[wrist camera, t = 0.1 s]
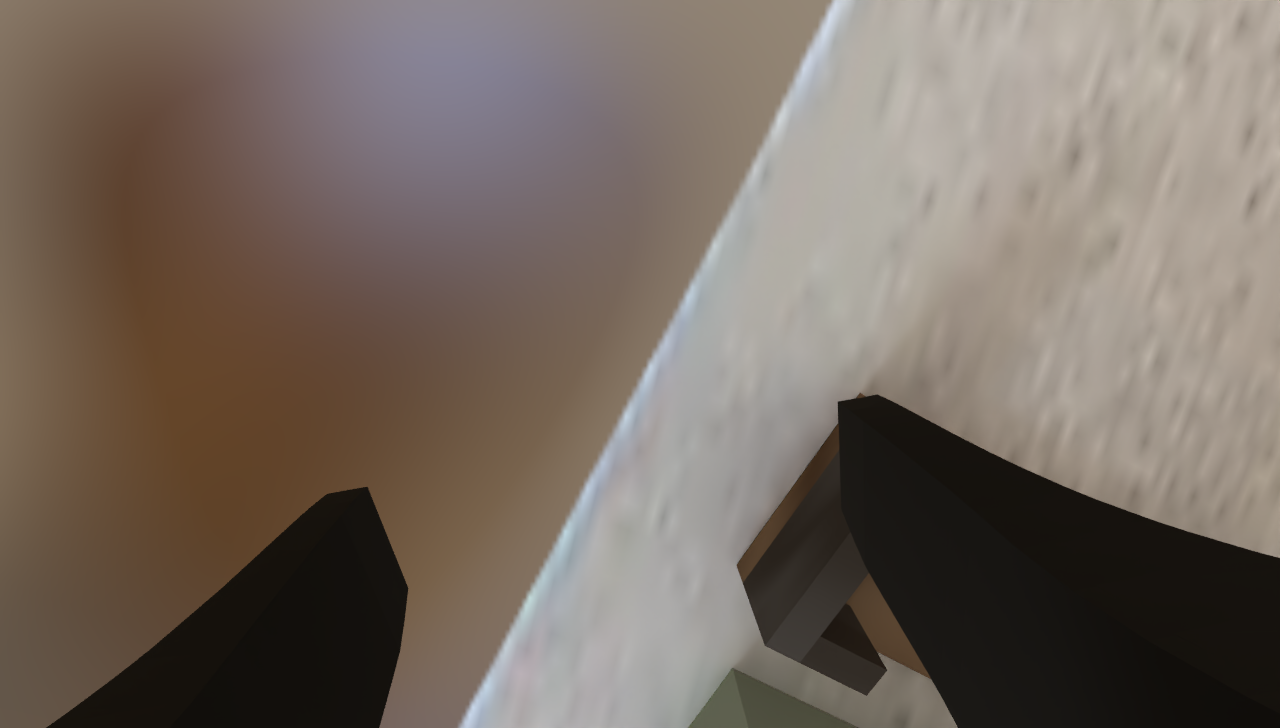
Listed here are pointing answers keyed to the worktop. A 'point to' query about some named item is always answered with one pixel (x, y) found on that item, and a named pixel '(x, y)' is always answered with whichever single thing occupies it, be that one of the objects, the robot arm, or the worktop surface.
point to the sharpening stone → (759, 708)
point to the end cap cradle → (821, 585)
